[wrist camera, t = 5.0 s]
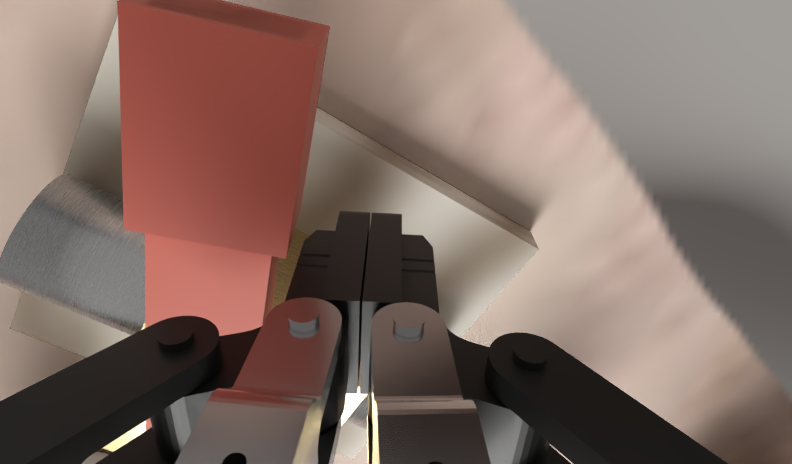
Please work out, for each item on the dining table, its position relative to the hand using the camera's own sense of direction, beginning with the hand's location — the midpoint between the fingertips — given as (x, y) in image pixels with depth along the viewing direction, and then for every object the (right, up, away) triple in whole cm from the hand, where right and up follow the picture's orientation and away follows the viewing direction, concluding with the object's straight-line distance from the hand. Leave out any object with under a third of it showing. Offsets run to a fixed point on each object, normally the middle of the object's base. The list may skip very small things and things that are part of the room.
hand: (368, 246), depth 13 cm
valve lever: (-4, -1, +2) cm, 4 cm away
